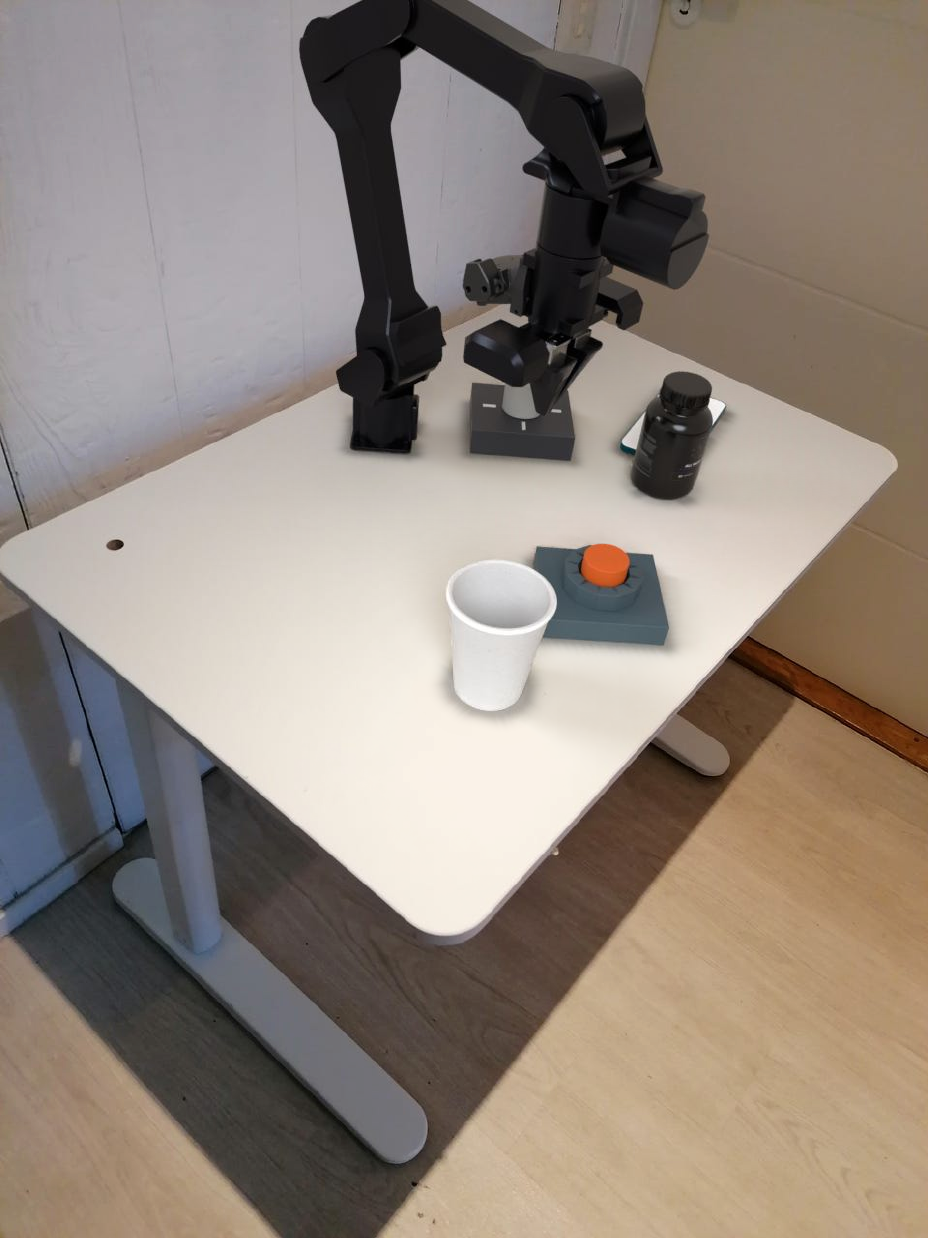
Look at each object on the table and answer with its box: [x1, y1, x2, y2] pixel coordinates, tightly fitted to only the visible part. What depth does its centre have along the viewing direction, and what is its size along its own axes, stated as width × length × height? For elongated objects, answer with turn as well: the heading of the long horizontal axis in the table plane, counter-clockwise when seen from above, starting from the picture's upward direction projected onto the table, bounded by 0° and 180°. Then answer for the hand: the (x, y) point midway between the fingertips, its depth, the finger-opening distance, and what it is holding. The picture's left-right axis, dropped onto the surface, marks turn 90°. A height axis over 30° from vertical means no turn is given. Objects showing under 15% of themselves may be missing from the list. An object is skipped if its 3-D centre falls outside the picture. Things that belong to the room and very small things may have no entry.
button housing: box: [532, 544, 670, 646], centre depth 87 cm, size 11×10×4 cm
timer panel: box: [469, 382, 576, 462], centre depth 107 cm, size 11×10×3 cm
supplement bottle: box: [630, 370, 713, 501], centre depth 99 cm, size 7×7×12 cm
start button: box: [581, 543, 630, 587], centre depth 85 cm, size 4×4×2 cm
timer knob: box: [502, 383, 540, 419], centre depth 105 cm, size 4×4×4 cm
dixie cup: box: [445, 558, 557, 712], centre depth 76 cm, size 8×8×10 cm
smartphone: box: [619, 391, 727, 457], centre depth 111 cm, size 8×1×16 cm
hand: (542, 413), depth 89 cm, fingers closed
